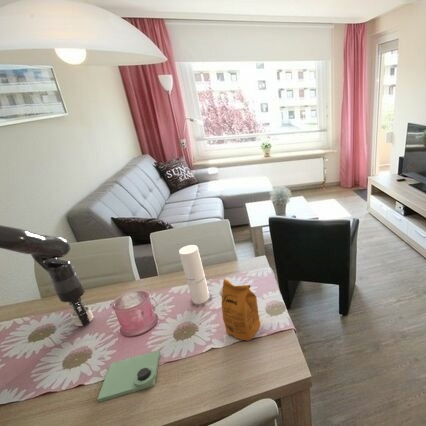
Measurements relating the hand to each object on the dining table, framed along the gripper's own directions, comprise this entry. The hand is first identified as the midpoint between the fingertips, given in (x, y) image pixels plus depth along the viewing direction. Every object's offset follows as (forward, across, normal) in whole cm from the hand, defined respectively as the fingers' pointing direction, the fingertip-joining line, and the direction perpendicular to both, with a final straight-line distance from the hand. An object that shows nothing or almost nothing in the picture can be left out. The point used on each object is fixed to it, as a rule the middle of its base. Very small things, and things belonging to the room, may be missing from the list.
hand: (84, 320), depth 117 cm
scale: (+1, +41, +4) cm, 42 cm away
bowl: (+1, 0, 0) cm, 1 cm away
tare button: (-1, +47, +6) cm, 48 cm away
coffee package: (+1, +53, +39) cm, 66 cm away
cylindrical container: (+1, +24, +37) cm, 44 cm away
